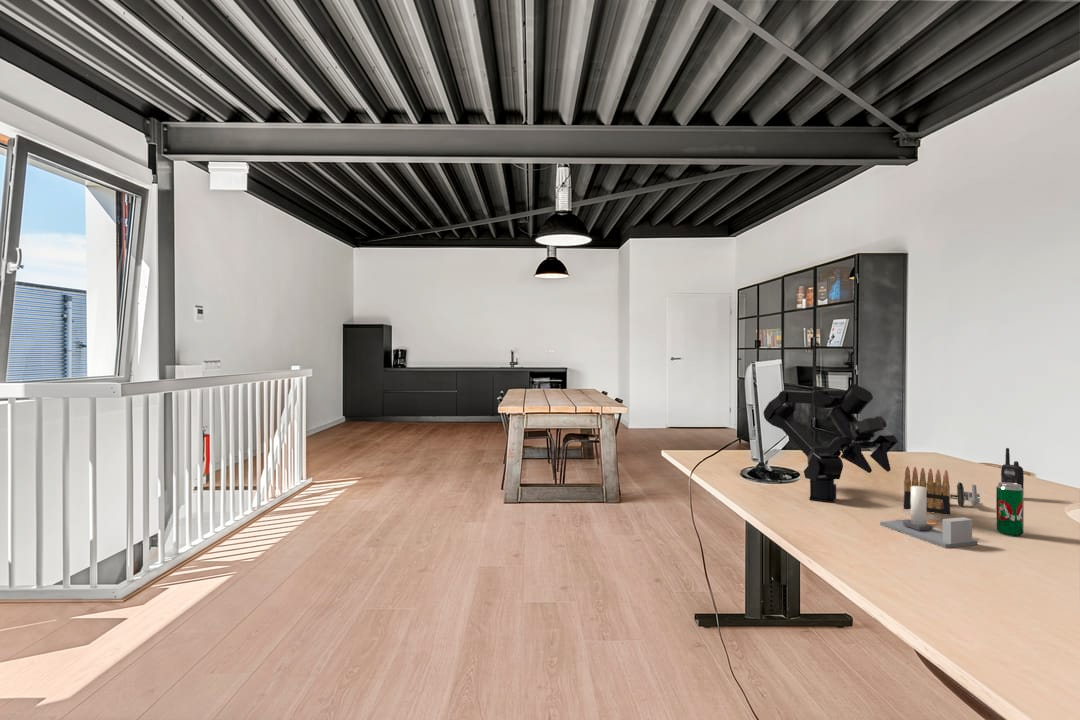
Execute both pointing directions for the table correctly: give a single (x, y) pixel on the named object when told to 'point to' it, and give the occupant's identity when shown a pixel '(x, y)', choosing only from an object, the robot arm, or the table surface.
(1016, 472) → the two-way radio
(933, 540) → the gauge board
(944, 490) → the ammunition clip
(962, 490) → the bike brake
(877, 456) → the robot arm
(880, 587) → the table surface
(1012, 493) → the soda can
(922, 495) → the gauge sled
